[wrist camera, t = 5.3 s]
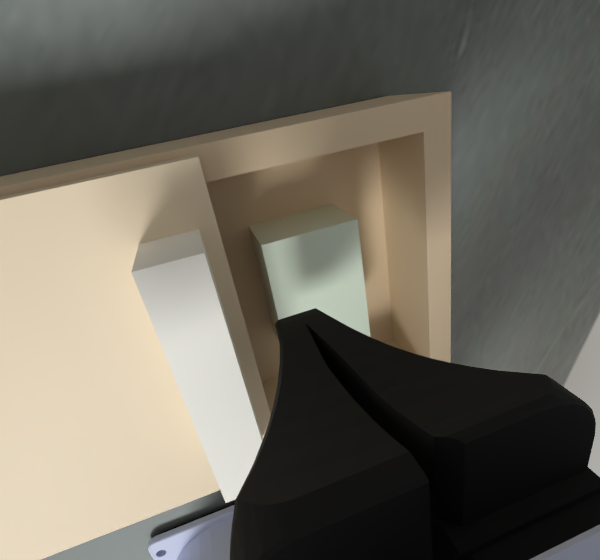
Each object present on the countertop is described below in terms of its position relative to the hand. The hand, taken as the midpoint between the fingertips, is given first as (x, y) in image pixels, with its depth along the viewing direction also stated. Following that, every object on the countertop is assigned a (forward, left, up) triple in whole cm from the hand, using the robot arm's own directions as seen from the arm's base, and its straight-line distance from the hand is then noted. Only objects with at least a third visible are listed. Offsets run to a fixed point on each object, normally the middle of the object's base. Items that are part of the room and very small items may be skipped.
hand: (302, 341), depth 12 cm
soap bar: (0, -1, -5) cm, 5 cm away
